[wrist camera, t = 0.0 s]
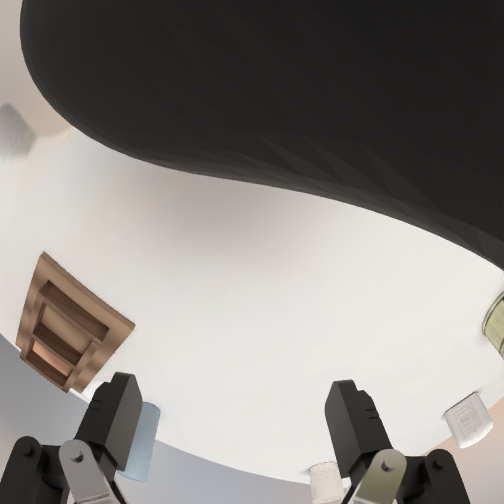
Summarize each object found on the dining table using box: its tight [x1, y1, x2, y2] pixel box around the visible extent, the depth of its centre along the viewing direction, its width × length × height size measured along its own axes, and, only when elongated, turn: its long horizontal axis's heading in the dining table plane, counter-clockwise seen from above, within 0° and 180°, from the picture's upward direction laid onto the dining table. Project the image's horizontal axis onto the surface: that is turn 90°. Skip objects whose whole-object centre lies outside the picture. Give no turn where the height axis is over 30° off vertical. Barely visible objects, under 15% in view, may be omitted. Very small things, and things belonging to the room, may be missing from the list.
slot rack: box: [16, 252, 135, 394], centre depth 30 cm, size 22×14×4 cm, turn 137°
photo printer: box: [444, 392, 493, 449], centre depth 40 cm, size 10×4×12 cm, turn 124°
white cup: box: [310, 462, 345, 503], centre depth 48 cm, size 8×8×10 cm
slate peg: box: [117, 402, 160, 482], centre depth 32 cm, size 4×4×13 cm
